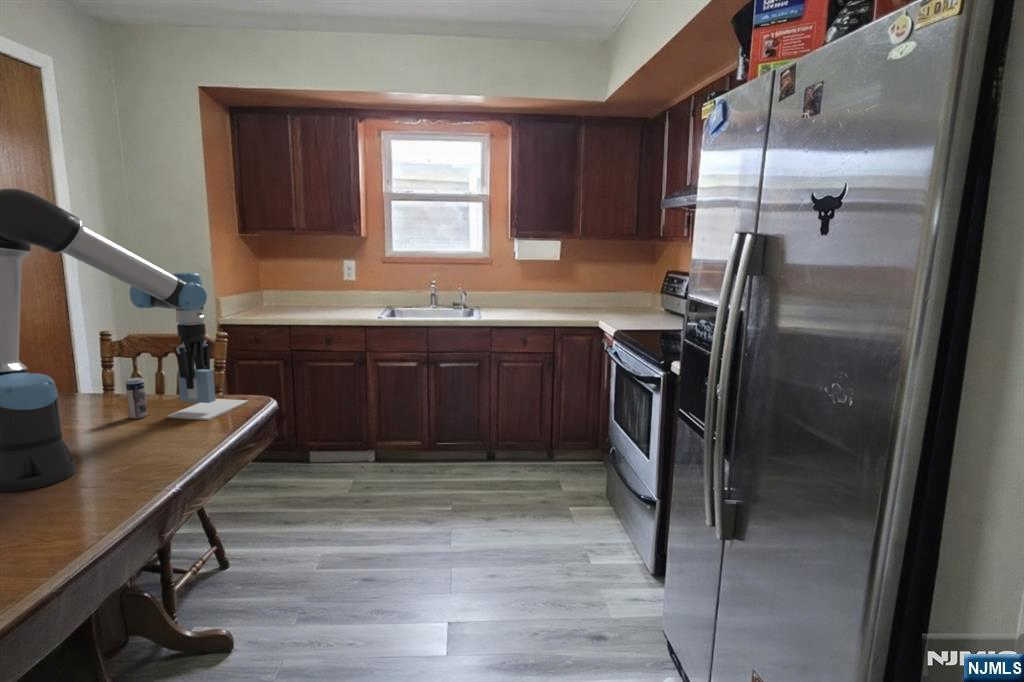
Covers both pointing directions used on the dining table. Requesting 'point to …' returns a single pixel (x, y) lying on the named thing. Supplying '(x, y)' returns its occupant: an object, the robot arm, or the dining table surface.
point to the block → (199, 386)
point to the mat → (208, 409)
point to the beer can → (136, 398)
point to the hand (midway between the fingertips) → (197, 396)
